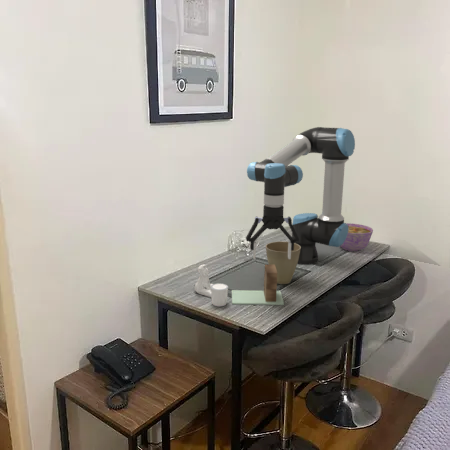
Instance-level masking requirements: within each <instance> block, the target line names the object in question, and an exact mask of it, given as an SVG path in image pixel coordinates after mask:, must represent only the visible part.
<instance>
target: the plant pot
mask: <svg viewBox="0 0 450 450" xmlns="http://www.w3.org/2000/svg"><path fill="white" fill-rule="evenodd" d="M300 249H301V247H300V245H298V244H296V243H294V250H291V259H288V241H282V240H281V241H273V242H268V243H267V244H266V245H265V251H266V252H265V253H266V259H267V263H268V264H267V265H275V267H276V270H277V285H279V284H280V285H288V284H290V283H291V281H292V279H293V276H294V274H295V271H296V269H297V266H298V264H297V263H298V259H299V254H300Z"/></svg>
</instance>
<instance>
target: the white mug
mask: <svg viewBox="0 0 450 450" xmlns="http://www.w3.org/2000/svg"><path fill="white" fill-rule="evenodd" d="M212 284H213V285H211V297H210V298H211V303H212V305H213V306H215V307H224V306H226V305H227V302H228V293H229V285H227V284H225V283H223V282H222V283H220V282H219V283H212Z"/></svg>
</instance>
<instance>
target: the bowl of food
mask: <svg viewBox="0 0 450 450" xmlns="http://www.w3.org/2000/svg"><path fill="white" fill-rule="evenodd" d="M345 223H346V224H347V225H348V234H347V237H346V239H345V241H344V243H343V244H342V245H341V246H339V247H340V248H342V249H343V250H345V251H347V250H348V251H347V252H353V251H354V252H359V251H361V250H364V249H365V248H367V246H368V245H369V243H370V240H371V238H372V235H373V233H374V232H373V231H374V229H373V228H372V227H370V226H368V225H364V224H360V223H351V222H350V223H347V222H345ZM358 250H359V251H358Z"/></svg>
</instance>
